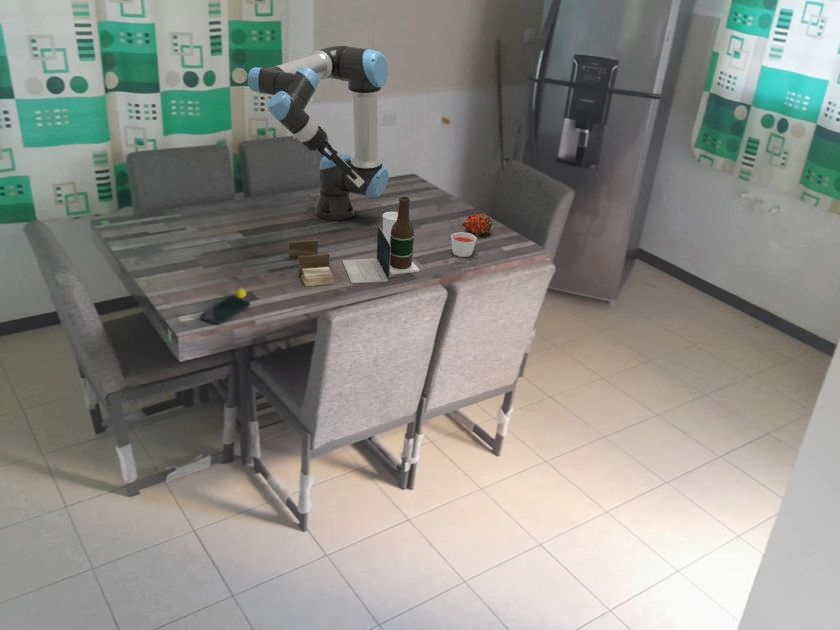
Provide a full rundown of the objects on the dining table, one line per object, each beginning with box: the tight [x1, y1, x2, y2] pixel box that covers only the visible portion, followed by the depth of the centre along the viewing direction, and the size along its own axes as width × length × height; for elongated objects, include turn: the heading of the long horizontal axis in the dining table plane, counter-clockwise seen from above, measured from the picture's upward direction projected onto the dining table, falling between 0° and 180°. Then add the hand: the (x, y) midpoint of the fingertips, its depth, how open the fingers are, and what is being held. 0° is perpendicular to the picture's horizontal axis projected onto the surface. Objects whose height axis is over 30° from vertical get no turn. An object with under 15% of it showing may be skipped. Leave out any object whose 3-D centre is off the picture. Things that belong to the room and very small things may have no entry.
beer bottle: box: [390, 196, 415, 269], centre depth 263 cm, size 8×8×24 cm
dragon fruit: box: [461, 213, 493, 237], centre depth 299 cm, size 8×8×12 cm
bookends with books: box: [287, 239, 335, 287], centre depth 260 cm, size 23×10×7 cm, turn 22°
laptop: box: [341, 225, 391, 284], centre depth 261 cm, size 18×12×13 cm
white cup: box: [382, 211, 398, 244], centre depth 286 cm, size 8×8×10 cm
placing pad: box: [390, 261, 420, 275], centre depth 268 cm, size 10×10×1 cm
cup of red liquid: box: [450, 231, 477, 258], centre depth 281 cm, size 9×9×6 cm
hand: (354, 177), depth 256 cm, fingers open, 13 cm apart
